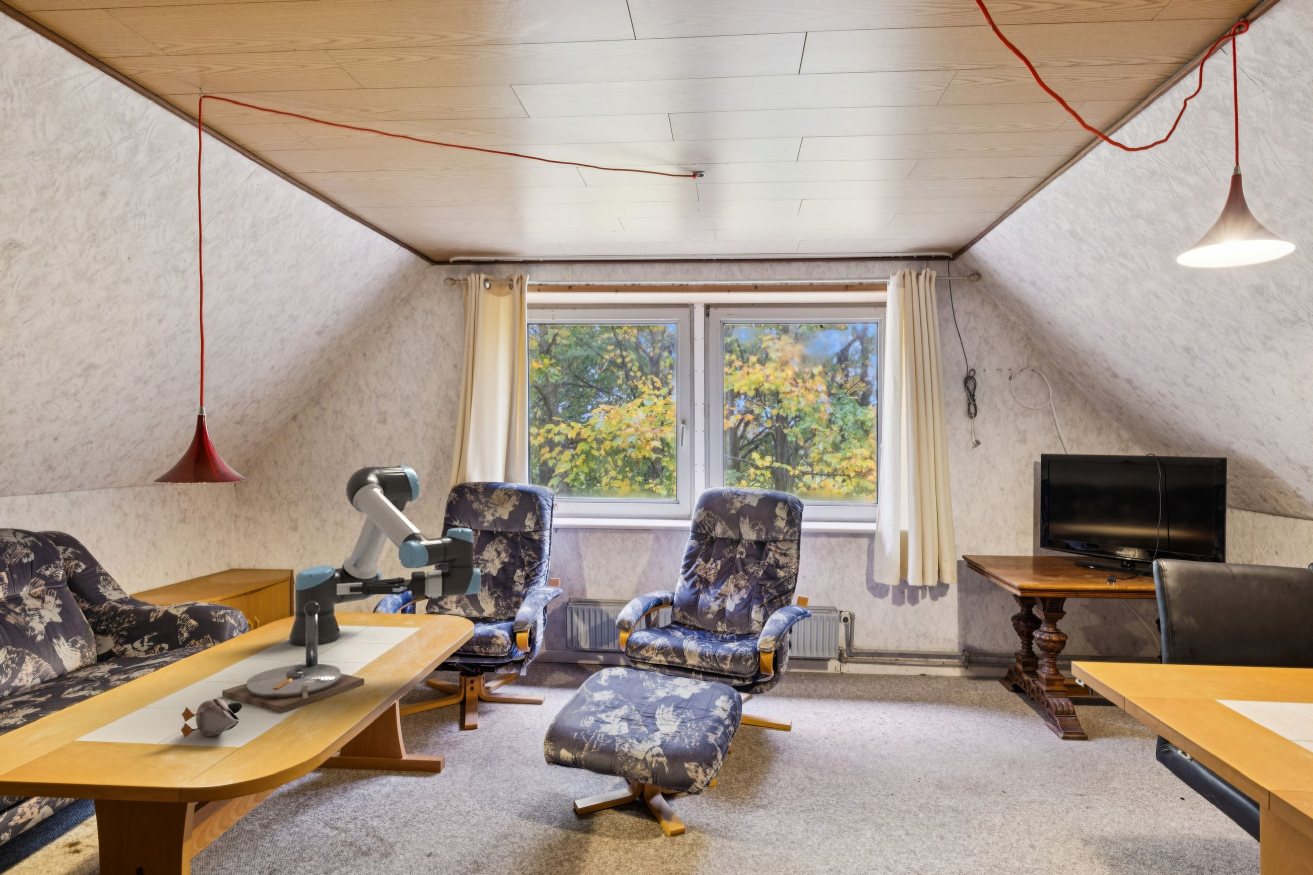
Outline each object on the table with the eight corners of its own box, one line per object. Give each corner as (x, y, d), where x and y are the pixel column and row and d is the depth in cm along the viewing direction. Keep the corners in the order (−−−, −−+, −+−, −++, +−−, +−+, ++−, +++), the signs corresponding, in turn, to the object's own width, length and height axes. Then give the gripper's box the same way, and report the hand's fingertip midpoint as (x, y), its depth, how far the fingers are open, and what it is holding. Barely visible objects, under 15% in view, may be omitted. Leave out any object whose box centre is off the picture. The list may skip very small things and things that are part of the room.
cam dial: (319, 697, 184) (319, 619, 184) (229, 698, 183) (229, 619, 183) (354, 668, 207) (354, 599, 207) (274, 669, 206) (275, 599, 206)
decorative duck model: (229, 688, 177) (278, 692, 172) (227, 720, 176) (277, 726, 172) (170, 703, 163) (222, 708, 158) (168, 738, 162) (220, 744, 157)
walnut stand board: (222, 696, 190) (222, 678, 190) (306, 670, 211) (306, 654, 211) (281, 712, 178) (281, 694, 178) (364, 684, 199) (364, 667, 199)
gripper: (426, 601, 208) (334, 607, 200) (425, 592, 220) (338, 598, 213) (426, 575, 208) (335, 580, 200) (425, 567, 220) (339, 571, 213)
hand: (337, 589), depth 207 cm, fingers closed
